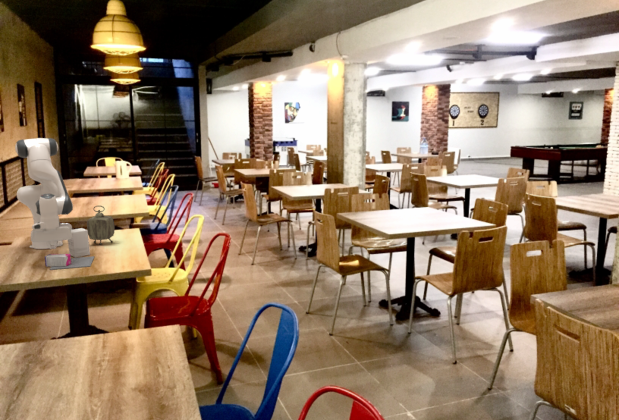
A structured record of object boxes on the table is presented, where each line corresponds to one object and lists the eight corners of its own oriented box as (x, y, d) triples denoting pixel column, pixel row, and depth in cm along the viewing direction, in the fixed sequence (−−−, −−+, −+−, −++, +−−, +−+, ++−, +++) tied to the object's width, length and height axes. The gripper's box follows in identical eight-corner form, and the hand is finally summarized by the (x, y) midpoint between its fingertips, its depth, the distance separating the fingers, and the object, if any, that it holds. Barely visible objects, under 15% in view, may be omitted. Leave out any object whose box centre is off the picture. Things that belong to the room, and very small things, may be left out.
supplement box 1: (45, 266, 278) (65, 266, 277) (44, 256, 277) (64, 256, 276) (51, 263, 284) (71, 263, 283) (50, 253, 283) (70, 253, 282)
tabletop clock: (115, 242, 332) (112, 204, 327) (110, 245, 323) (107, 206, 318) (93, 242, 332) (89, 204, 327) (87, 246, 323) (83, 207, 318)
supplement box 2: (84, 252, 309) (82, 227, 306) (90, 254, 303) (88, 230, 300) (68, 255, 303) (66, 230, 300) (74, 257, 297) (72, 232, 294)
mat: (56, 260, 292) (56, 259, 292) (94, 257, 298) (94, 256, 298) (49, 270, 273) (49, 269, 273) (90, 266, 279) (90, 265, 279)
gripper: (72, 221, 285) (74, 245, 287) (31, 224, 279) (34, 248, 282) (70, 223, 279) (72, 248, 281) (28, 226, 273) (31, 251, 276)
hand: (53, 248), depth 281 cm, fingers closed
